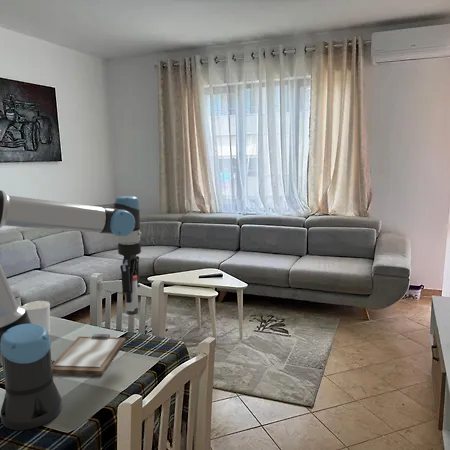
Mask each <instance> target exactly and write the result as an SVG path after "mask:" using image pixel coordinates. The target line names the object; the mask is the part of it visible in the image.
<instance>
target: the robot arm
mask: <svg viewBox="0 0 450 450" xmlns="http://www.w3.org/2000/svg"><path fill="white" fill-rule="evenodd" d="M140 209H141V208H140V203H139V198H138V197H136V196H134V195H123V196H117V197H115V203H109V204H106V203H105V204H96V205H95V204H94V205H92V204H91V205H87V204H80V203H72V202H63V201H56V200H55V201H54V200H48V199H47V200H46V199H39V198H31V197H23V196H16V195H8V194H6V193H5V192H4V191H3V190H1V189H0V229H1V228H2V227H3V226H7V227H17V228H18V227H19V228H30V229H31V228H32V229H34V228H35V229H45V230H57V231H58V230H59V231H68V232H69V231H70V232H72V231H73V232H84V233H85V232H86V233H97V234H106V235H107V234H108V235H114V236H116V237H117V238H116V239H117V242H118V243H117V253H118V255H120V256H123V259H122V264H121V265H120V271H121V273H120V274H121V287H122V288H121V289H122V290H121V291H122V292H121V293H122V294H124V296H125V297H124V298H125V302H124V303H125V311H126V312H127V311H134V292H133V291H132V288H133V275H137V291H138V288H140V287H141V284H140V265H139V262H140V256H139V255H140V254H141V252H142V246H141V245H142V244H141V242H140V241H141V236H142V235H143V233H142V232H141V225H140V223H141V221H140V219H141V218H140V211H141V210H140ZM138 292H139V291H138ZM16 300H17V299H16V298H15V296H14V293H13V290H12V288H11V286H10V284H9V281H8V279H7V276H6V274H5V271H4V269H3V267H2V264H1V263H0V365H1V366H2V371H3V379H4V388H5V393H4V397H3V401H2V405H1V408H0V422H2V423H1V425H2V424H3V425H4V426H5V427H4V426H3V425H2V426H3V427H4V428H6V427H7V428H6V429H8V428H9V429H8V430H13V431H26V430H31V429H35V428H38V427H41V426H43V425H45V424H47V423H50V422H51V421H52V420H54V419H55V418H56V417H58V415H59V414H60V413H61V411H62V408H63V402H62V401H63V400H62V396H61V394H60V392H59V390H58V388H57V385H56V383H55V382H54V375H53V374H52V364H53V362H52V352H51V351H52V350H51V349H52V348H51V345H52V344H51V342H52V341H51V338H50V334H49V333H48V331H47V329H46V328H44V327H43V326H41V325H38V324H37V325H35V324H32V323H31V321H30V318H29V316H28V313H27V311H26V309H25V307H23V305H20V304H18V302H17V301H16Z"/></svg>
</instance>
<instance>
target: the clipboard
mask: <svg viewBox="0 0 450 450" xmlns="http://www.w3.org/2000/svg"><path fill="white" fill-rule="evenodd" d="M126 342H127V340H126V337H113V336H111V335H110V334H109V333H107V334H106V333H105V334H104V333H93V334H92V336H78V337H76V339H75V340H74V341H73V342H72V343H71V344H70V345H69V346H68V347H67V348H66V349H65V350H64V351H63V352H62V353H61V354H60V355H59V356H58V358H56V359H55V360H54V361H53V362H52V374H54V375H77V376H78V375H79V376H80V375H81V376H103V375H104V374H105V372H106V371H107V369H108V368H109V366H110V365H111V364H112V362H113V361H114V360H115V358H116V356H117V355H118V354H119V352H120V350H121V349H122V348H123V347H124V345H125V343H126Z"/></svg>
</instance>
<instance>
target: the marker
mask: <svg viewBox="0 0 450 450" xmlns="http://www.w3.org/2000/svg"><path fill="white" fill-rule="evenodd" d="M137 288H138V287H137V275H133V288H132V291H133V292H134V311H126V314H127V315H131V316H133V315H137V314H139V293H138V292H139V291H137Z"/></svg>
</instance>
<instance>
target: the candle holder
mask: <svg viewBox="0 0 450 450" xmlns="http://www.w3.org/2000/svg"><path fill="white" fill-rule="evenodd" d="M22 306H23V307H25V309H26V311H27V313H28V316H29V318H30V321H31V323H32V324H35V325H37V324H38V325H41V326H43V327H44V328H46V329H47V331H48V333H49V335H50V333H51V309H50V308H51V303H50V302H49V301H46V300H35V301H30V302H27V303H26V304H23V305H22Z"/></svg>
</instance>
